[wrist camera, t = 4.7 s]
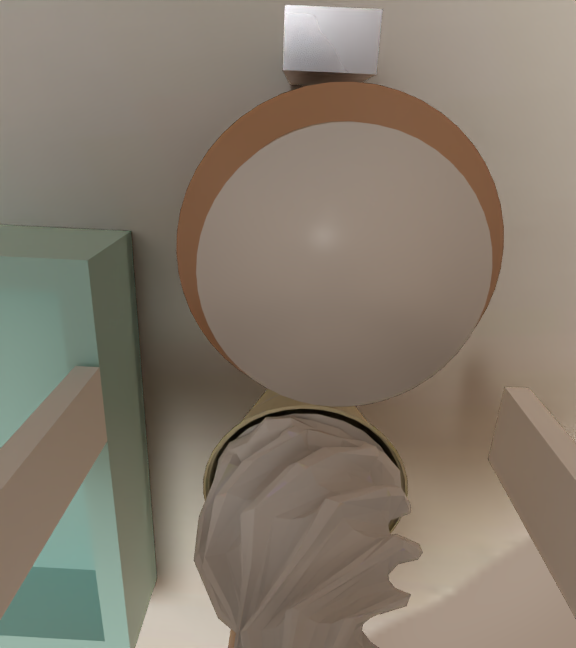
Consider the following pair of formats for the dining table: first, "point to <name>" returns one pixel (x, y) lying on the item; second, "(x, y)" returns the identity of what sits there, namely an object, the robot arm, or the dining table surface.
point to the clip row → (330, 44)
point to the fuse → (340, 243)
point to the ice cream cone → (302, 526)
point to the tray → (121, 427)
